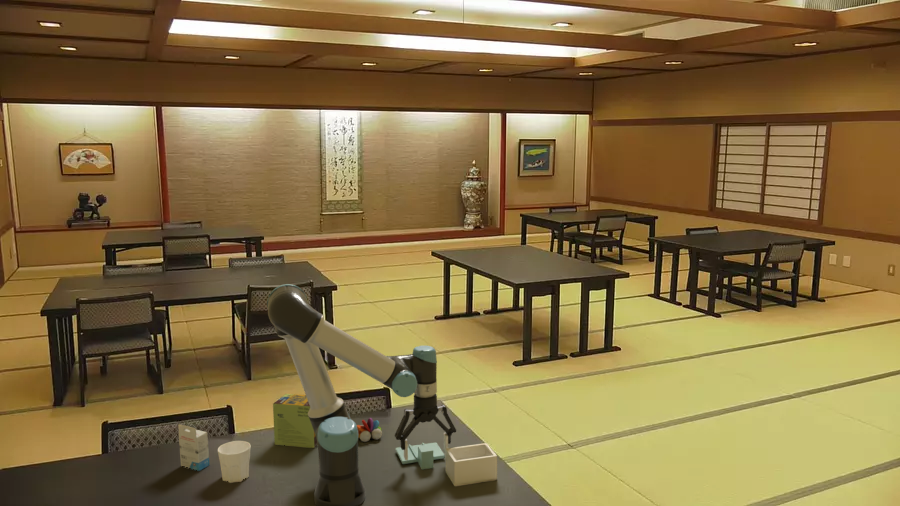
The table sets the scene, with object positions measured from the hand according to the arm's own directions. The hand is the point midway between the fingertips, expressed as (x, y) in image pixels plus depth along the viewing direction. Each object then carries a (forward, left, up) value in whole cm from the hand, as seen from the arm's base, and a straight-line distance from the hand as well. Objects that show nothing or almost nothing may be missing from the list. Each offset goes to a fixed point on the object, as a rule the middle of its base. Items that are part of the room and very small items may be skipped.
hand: (426, 455), depth 225 cm
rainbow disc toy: (-14, +29, -4) cm, 32 cm away
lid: (0, +6, -4) cm, 7 cm away
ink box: (-73, +23, -4) cm, 77 cm away
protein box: (-38, +33, -4) cm, 51 cm away
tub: (+12, -11, -4) cm, 16 cm away
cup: (-60, +11, -4) cm, 61 cm away
